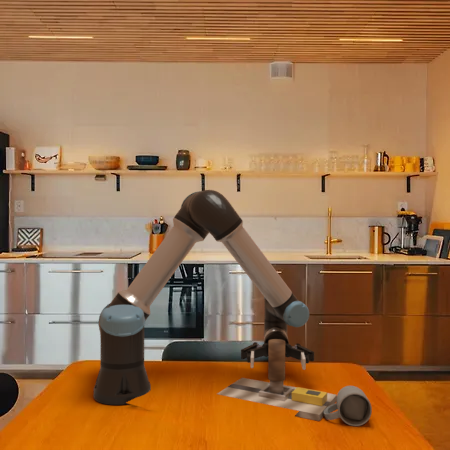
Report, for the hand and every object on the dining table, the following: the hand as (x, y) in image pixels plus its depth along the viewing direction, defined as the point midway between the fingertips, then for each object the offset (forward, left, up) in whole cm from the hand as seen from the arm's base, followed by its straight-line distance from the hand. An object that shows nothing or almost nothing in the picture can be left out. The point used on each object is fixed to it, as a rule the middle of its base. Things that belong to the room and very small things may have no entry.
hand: (277, 363), depth 126 cm
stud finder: (+8, +1, -8) cm, 12 cm away
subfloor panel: (-1, +1, -10) cm, 10 cm away
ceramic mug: (+19, -2, -10) cm, 22 cm away
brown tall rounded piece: (-1, +1, -8) cm, 8 cm away
